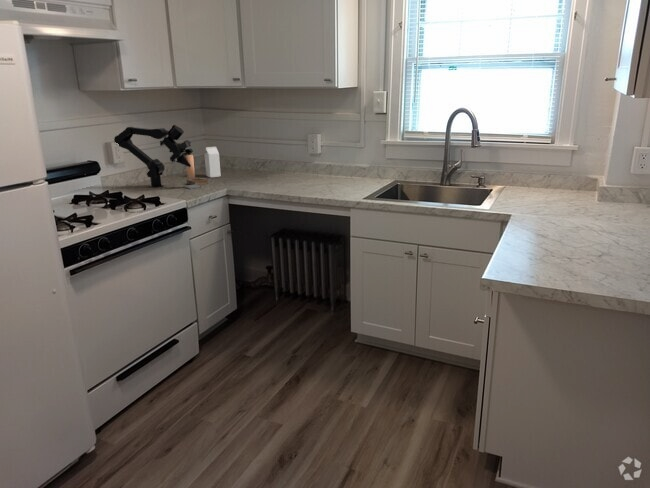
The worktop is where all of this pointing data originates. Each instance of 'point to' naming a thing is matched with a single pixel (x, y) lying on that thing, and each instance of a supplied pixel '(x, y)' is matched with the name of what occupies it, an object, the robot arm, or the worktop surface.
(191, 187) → the slate rubber pad
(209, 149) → the milk carton
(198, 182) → the walnut socket block
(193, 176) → the peach rounded cylinder
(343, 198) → the worktop surface
